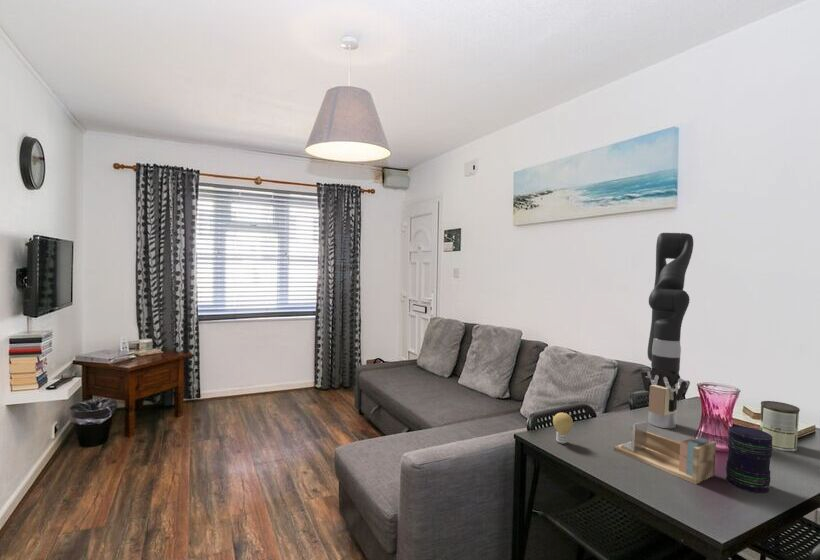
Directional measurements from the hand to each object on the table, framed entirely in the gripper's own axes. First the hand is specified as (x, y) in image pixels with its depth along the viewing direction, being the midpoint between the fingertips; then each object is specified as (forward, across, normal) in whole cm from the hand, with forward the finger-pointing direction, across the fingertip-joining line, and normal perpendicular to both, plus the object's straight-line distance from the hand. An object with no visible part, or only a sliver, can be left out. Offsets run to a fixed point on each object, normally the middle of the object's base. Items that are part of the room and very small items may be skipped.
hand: (662, 408), depth 132 cm
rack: (+17, 0, 0) cm, 17 cm away
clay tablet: (+18, +6, -16) cm, 24 cm away
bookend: (+16, +9, 0) cm, 18 cm away
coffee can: (+17, -12, -52) cm, 56 cm away
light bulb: (+17, +24, +16) cm, 34 cm away
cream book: (+1, 0, 0) cm, 1 cm away
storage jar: (+17, -20, -8) cm, 27 cm away
